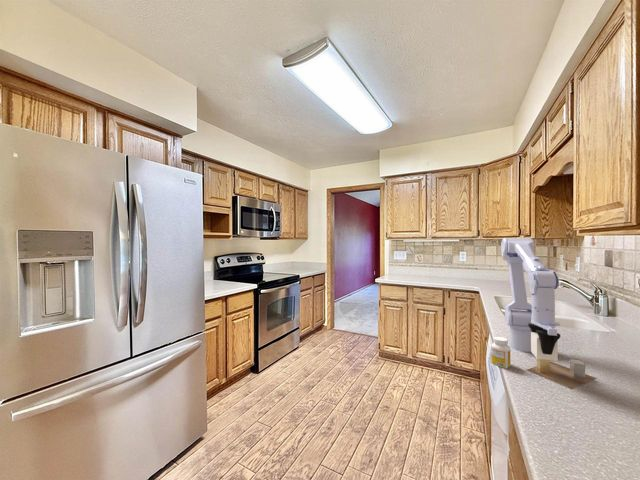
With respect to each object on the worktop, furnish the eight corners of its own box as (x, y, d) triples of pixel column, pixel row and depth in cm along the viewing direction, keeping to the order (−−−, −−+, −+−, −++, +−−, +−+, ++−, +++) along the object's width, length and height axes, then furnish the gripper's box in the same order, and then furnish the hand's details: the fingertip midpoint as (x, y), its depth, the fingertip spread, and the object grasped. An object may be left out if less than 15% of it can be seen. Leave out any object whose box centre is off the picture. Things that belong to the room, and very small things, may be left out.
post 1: (536, 368, 88) (536, 355, 88) (546, 370, 87) (546, 356, 87) (540, 372, 85) (539, 358, 85) (550, 374, 84) (550, 360, 84)
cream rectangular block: (531, 351, 89) (530, 332, 89) (550, 354, 87) (550, 334, 87) (536, 358, 84) (536, 337, 84) (557, 361, 82) (557, 339, 82)
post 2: (569, 373, 84) (569, 359, 84) (580, 375, 83) (580, 360, 83) (574, 377, 82) (574, 363, 82) (585, 379, 81) (585, 364, 81)
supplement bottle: (502, 362, 94) (502, 335, 94) (514, 370, 89) (514, 341, 89) (488, 363, 94) (487, 335, 94) (498, 371, 89) (498, 341, 89)
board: (550, 364, 93) (550, 361, 93) (597, 381, 82) (597, 378, 82) (525, 372, 87) (525, 369, 87) (571, 392, 76) (571, 388, 76)
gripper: (570, 315, 77) (570, 362, 78) (549, 303, 91) (549, 343, 91) (540, 313, 80) (540, 358, 80) (523, 302, 94) (524, 340, 94)
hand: (543, 350), depth 86 cm, fingers closed on cream rectangular block, 5 cm apart
